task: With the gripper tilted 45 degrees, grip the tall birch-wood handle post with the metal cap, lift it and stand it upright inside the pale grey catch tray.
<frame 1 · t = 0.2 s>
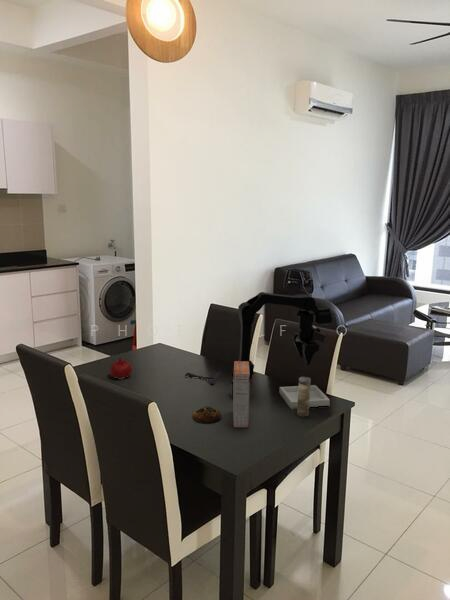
hand: (304, 361, 212), 15 cm above the table, tool pointing down, fingers open, 9 cm apart
pomegranate: (121, 377, 231), on the table
cracker box: (240, 420, 190), on the table
dark grey t-shape: (201, 379, 231), on the table
handle post: (302, 414, 195), on the table
bread roll: (207, 418, 191), on the table
catch tray: (303, 400, 209), on the table
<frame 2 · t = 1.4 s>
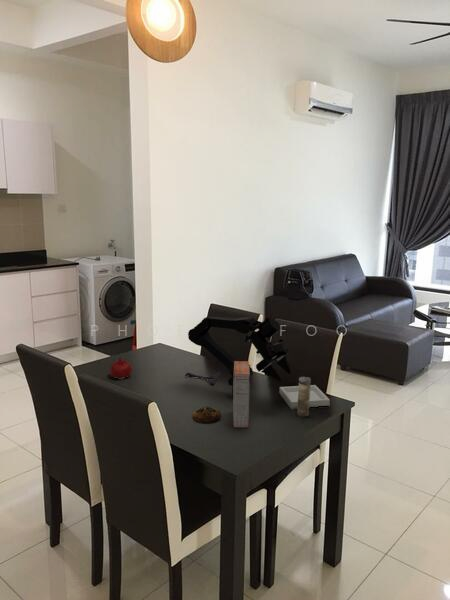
hand: (285, 376, 197), 13 cm above the table, tool tilted 45°, fingers open, 9 cm apart
nothing on the table moved.
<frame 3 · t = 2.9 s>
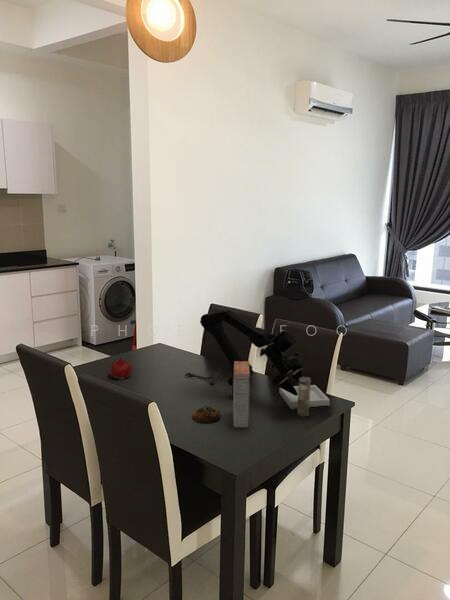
hand: (302, 391, 194), 9 cm above the table, tool tilted 45°, fingers open, 9 cm apart
nothing on the table moved.
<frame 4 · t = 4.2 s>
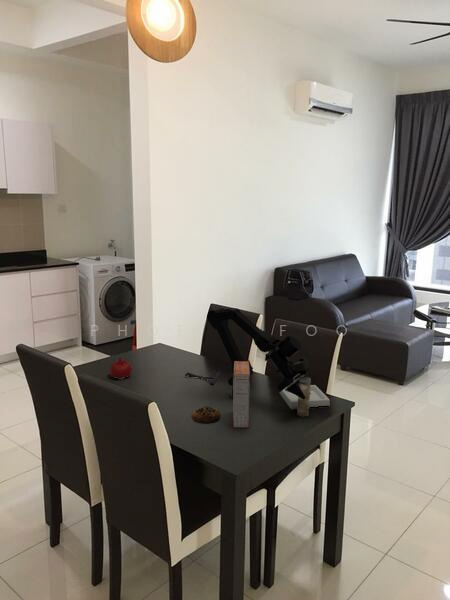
hand: (307, 396, 193), 8 cm above the table, tool tilted 45°, fingers closed on handle post, 4 cm apart
handle post: (302, 414, 195), on the table, touching gripper
everything else where it was.
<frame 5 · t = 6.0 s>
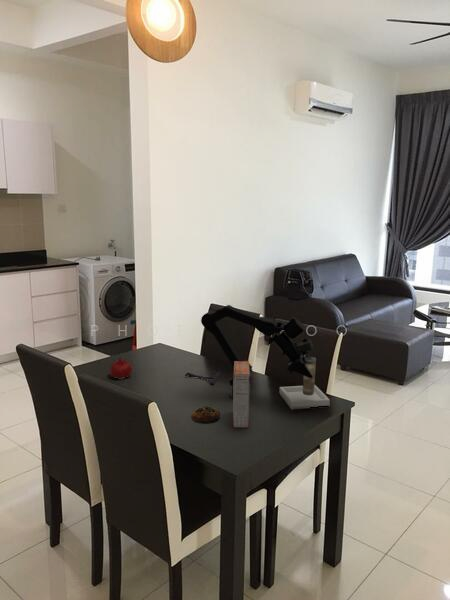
hand: (312, 375, 199), 13 cm above the table, tool tilted 45°, fingers closed on handle post, 4 cm apart
handle post: (308, 393, 201), point 6 cm above the table, touching gripper
everything else where it was.
when the fingers open (10 cm above the table, at t = 7.7 s): handle post drops 1 cm, resting on catch tray.
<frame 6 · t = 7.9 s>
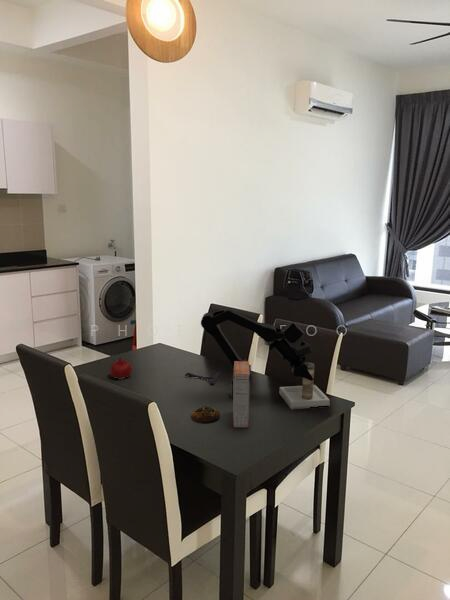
hand: (311, 377, 207), 10 cm above the table, tool tilted 45°, fingers open, 6 cm apart
handle post: (307, 397, 209), point 1 cm above the table, touching catch tray
everything else where it was.
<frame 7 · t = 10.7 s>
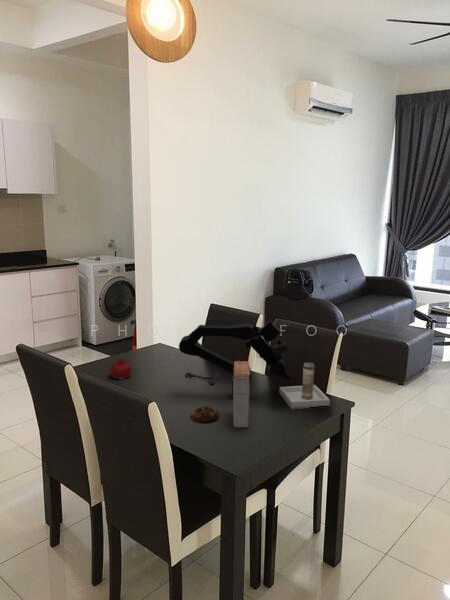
hand: (288, 375, 208), 10 cm above the table, tool tilted 45°, fingers open, 9 cm apart
nothing on the table moved.
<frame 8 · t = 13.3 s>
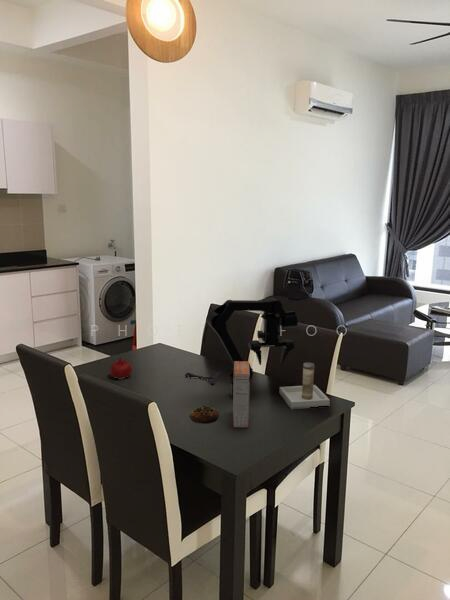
hand: (270, 364, 212), 13 cm above the table, tool pointing down, fingers open, 9 cm apart
at the end: handle post inside the target area on the catch tray (1.5 cm from its centre), point 1.0 cm above the catch tray's base; handle post tilted 0°; the gripper is holding nothing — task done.
